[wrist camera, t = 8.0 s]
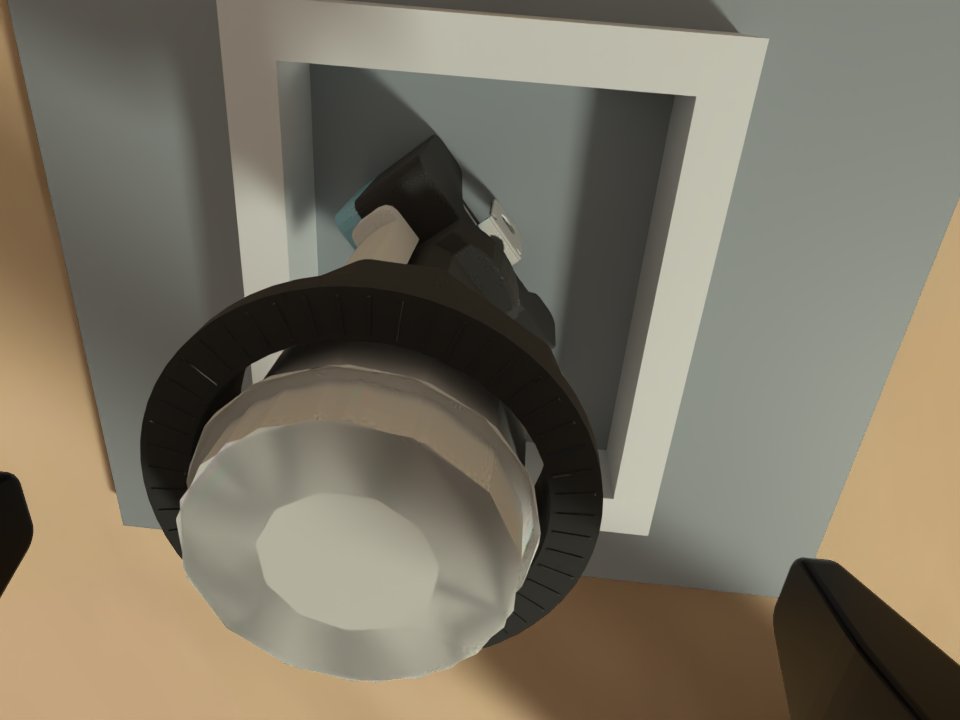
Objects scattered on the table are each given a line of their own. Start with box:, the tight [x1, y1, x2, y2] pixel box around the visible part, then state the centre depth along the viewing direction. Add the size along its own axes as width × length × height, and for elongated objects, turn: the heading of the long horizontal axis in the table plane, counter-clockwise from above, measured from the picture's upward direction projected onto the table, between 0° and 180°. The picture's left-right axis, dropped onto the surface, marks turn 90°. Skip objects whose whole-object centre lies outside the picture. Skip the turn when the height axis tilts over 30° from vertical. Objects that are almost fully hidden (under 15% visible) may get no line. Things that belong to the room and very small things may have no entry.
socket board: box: [7, 0, 960, 598], centre depth 16 cm, size 18×20×3 cm
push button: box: [140, 135, 603, 683], centre depth 12 cm, size 7×5×10 cm
